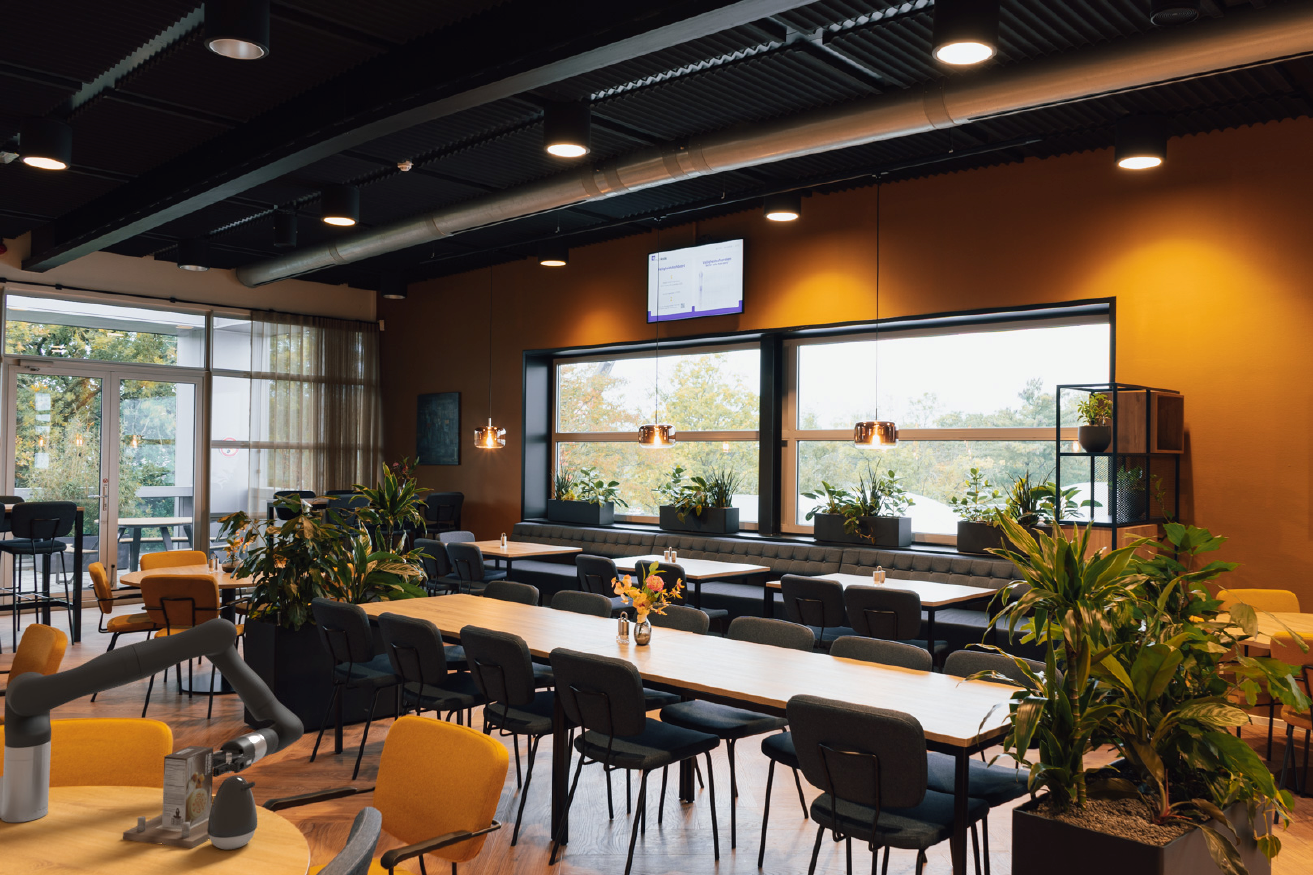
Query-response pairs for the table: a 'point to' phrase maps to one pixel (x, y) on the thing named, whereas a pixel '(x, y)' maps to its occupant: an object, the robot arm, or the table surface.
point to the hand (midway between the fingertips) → (198, 770)
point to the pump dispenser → (232, 814)
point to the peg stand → (168, 833)
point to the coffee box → (187, 786)
